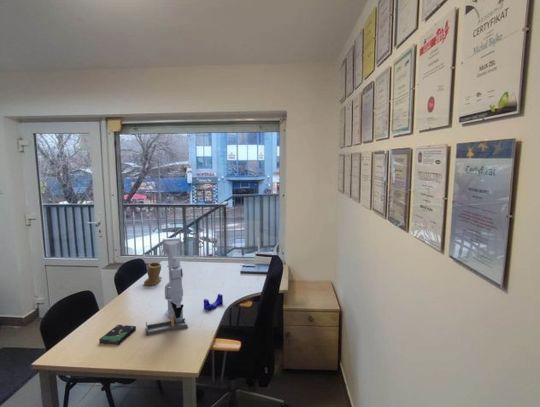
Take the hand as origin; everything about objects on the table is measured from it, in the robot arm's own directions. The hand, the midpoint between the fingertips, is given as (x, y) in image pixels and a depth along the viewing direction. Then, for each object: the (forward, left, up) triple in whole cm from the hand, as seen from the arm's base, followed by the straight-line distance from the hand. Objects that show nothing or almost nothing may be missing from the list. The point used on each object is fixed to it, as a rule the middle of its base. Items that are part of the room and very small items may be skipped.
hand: (177, 315), depth 167 cm
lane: (0, -6, -6) cm, 8 cm away
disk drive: (-1, -28, -7) cm, 29 cm away
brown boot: (-76, -7, -6) cm, 77 cm away
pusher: (0, -2, -5) cm, 6 cm away
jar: (0, 0, -3) cm, 3 cm away
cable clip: (-16, +24, -6) cm, 30 cm away
